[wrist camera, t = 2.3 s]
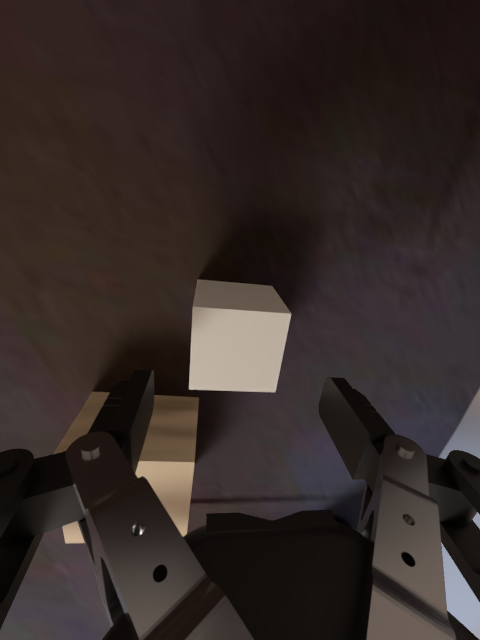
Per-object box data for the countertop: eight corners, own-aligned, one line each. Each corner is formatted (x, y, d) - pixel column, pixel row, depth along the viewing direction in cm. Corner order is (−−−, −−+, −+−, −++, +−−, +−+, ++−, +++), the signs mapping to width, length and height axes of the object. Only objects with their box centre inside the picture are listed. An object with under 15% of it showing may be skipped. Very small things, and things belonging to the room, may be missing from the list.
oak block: (93, 390, 21) (50, 459, 15) (199, 396, 22) (194, 462, 16) (99, 464, 24) (65, 543, 18) (191, 465, 25) (185, 540, 19)
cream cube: (197, 279, 18) (192, 306, 13) (271, 285, 18) (291, 313, 14) (194, 345, 20) (188, 389, 15) (261, 349, 20) (275, 392, 16)
